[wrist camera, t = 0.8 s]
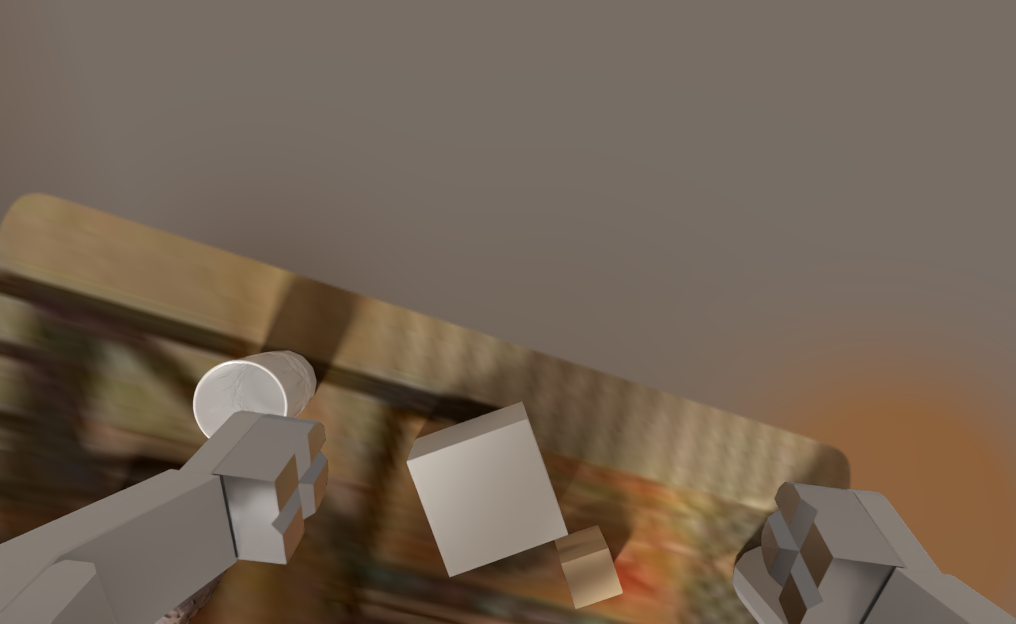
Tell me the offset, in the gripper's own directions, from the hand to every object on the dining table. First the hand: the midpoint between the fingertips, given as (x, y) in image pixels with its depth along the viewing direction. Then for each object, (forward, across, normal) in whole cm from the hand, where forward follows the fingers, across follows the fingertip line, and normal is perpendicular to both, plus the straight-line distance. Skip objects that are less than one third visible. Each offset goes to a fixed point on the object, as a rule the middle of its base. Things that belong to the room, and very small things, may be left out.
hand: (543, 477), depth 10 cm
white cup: (+37, -26, -26) cm, 52 cm away
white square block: (+36, -4, -34) cm, 50 cm away
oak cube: (+34, +8, -41) cm, 54 cm away
